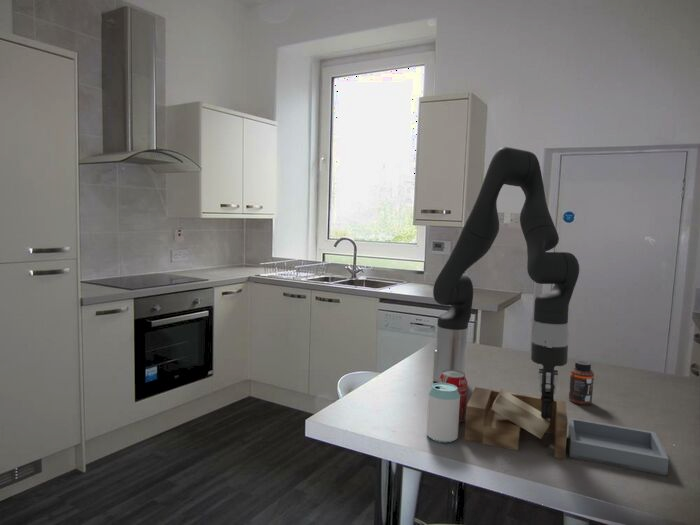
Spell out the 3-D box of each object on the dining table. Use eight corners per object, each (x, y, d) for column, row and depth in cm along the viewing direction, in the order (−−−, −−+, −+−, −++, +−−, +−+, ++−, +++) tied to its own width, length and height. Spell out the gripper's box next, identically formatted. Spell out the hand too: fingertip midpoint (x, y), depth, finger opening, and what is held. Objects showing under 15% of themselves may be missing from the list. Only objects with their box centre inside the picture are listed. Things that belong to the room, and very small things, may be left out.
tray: (569, 456, 106) (570, 441, 105) (567, 431, 119) (568, 417, 118) (667, 475, 99) (668, 459, 99) (653, 446, 112) (654, 432, 112)
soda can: (433, 414, 126) (435, 368, 125) (460, 414, 127) (462, 368, 126) (440, 425, 119) (443, 377, 118) (469, 425, 120) (472, 377, 119)
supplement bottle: (594, 406, 136) (597, 366, 135) (571, 404, 137) (574, 364, 136) (588, 399, 142) (591, 360, 141) (566, 396, 143) (569, 358, 142)
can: (442, 447, 108) (445, 394, 107) (420, 435, 114) (422, 384, 113) (464, 439, 112) (467, 388, 111) (441, 428, 118) (443, 379, 117)
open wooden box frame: (464, 439, 112) (466, 405, 111) (473, 417, 125) (475, 387, 124) (564, 459, 104) (567, 423, 104) (563, 433, 117) (565, 401, 116)
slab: (491, 409, 113) (499, 394, 112) (493, 402, 117) (501, 388, 116) (540, 439, 109) (549, 424, 108) (541, 431, 114) (549, 417, 113)
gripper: (532, 334, 117) (529, 405, 118) (530, 346, 105) (527, 425, 106) (567, 337, 114) (563, 409, 115) (569, 350, 102) (565, 431, 103)
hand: (546, 417), depth 111 cm, fingers closed
